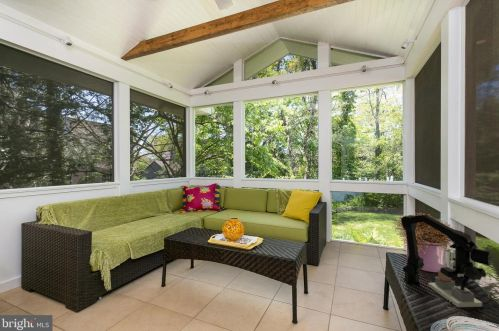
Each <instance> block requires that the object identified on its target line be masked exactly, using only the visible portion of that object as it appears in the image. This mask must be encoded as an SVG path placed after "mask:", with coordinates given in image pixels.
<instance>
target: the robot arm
mask: <svg viewBox="0 0 499 331" xmlns="http://www.w3.org/2000/svg"><path fill="white" fill-rule="evenodd" d="M400 222H401V225H402V227H403V229H404V230H405V236H406V243H407V250H408V257H407V259H406V265H405V266H403V267H402V271H403V272H404V277H402V279H403V280H404V281H405V282H406V283H408V284H409V285H421V282H420V274H419V272H420V270H422V269H423V268H424V266H425V263H424V258H423V257H420V255H419V250H418V242H417V235H416V228H417V226H418V223H424V224H425V225H427V226H428V227H431V228H433V229H434V230H436V231H437V232H440V233H441V234H443V235H445V236H447V238H448V239H449V240H450V241H451V242H452V243H453V244H451V245H450V246H449V248H452V249H454V250H455V258H453V260H454V261H455V266H453V268H455V270H452V269H450V268H449V267H447V266H446V267H445V266H444V267H440V269H439V270H440V272H441V273H442V274H444V275H446V276H447V277H449V278H451V279H452V278H454V279H456V281H457V283H458V285H459V286H460V287H461V288H462V289H464V288H466V286H467V284H468V282H470V280H472V281H480V280H481V279H482V278H486V276H487V273H486V270H485V269H484V268H481V267H480V268H479V267H478V266H476V265H475V266H474V263H478V264H481V265H484V266H488V267H490V266H491V265H492V263H493V257H492V254H491V251H490V250H486V249H481V248H478V246H477V245H476V243H475V242H474V241H473V239H472V236H471V235H470V234H468V233H467V232H464V231H461V230H458V229H454V228H452V227H449V226H448V225H446V224H444V223H442V222H440V220H439V221H438V220H437V219H435V218H433V217H432V216H430V215H429V214H427V213H424V214H420V215H419V214H418V215H413V214H409V215H405V216H403V217H402V218H400ZM472 261H473V262H472Z"/></svg>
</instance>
